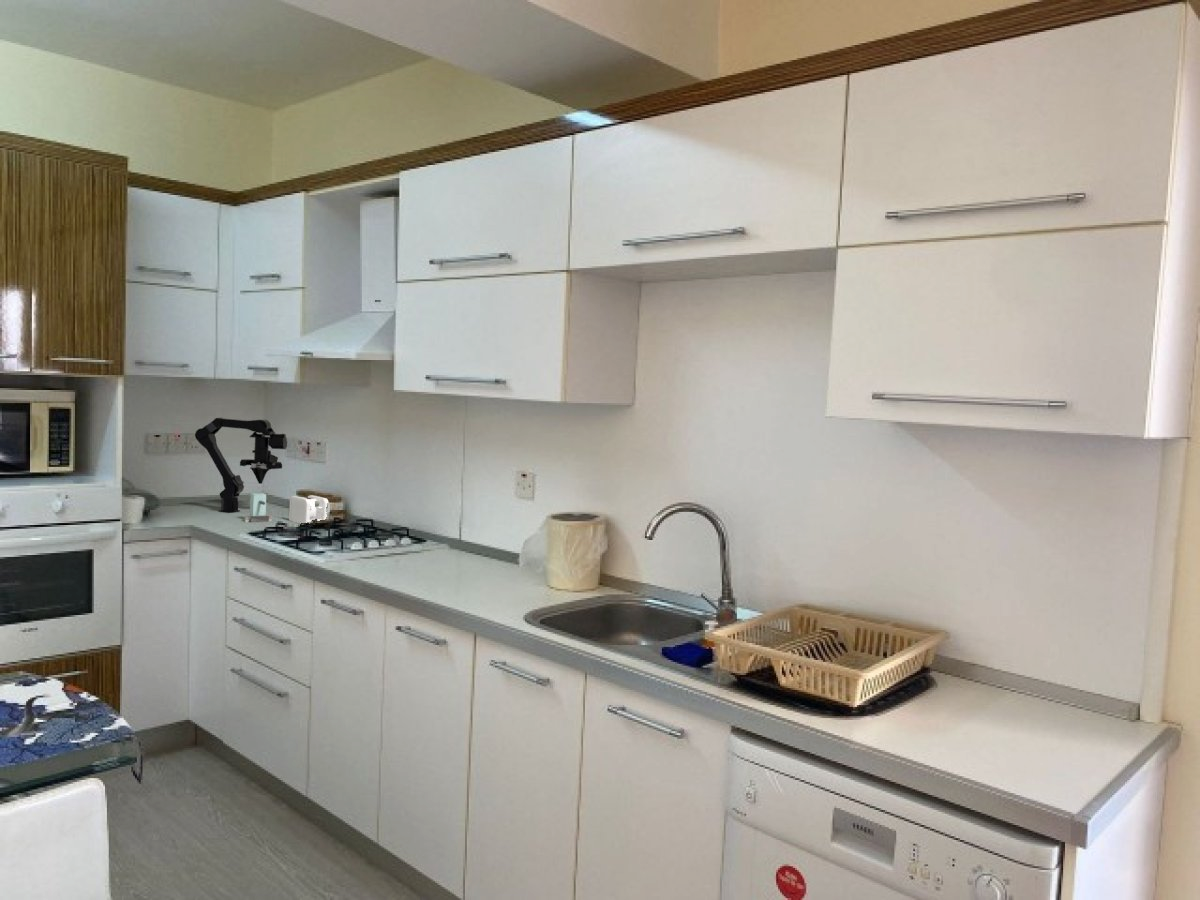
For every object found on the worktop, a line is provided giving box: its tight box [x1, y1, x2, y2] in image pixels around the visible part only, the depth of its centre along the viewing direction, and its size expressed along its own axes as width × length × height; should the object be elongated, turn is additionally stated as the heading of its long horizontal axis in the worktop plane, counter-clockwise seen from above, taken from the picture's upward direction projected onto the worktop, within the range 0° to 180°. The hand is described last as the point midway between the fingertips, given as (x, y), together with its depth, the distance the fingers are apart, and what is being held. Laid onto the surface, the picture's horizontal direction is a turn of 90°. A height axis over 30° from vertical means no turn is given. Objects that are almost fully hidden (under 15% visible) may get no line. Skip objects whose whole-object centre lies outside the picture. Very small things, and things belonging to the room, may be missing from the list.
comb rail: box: [242, 515, 273, 523], centre depth 360 cm, size 16×12×4 cm
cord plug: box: [249, 492, 267, 522], centre depth 355 cm, size 9×6×11 cm, turn 39°
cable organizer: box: [288, 494, 330, 525], centre depth 362 cm, size 15×11×12 cm
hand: (260, 483), depth 386 cm, fingers closed
